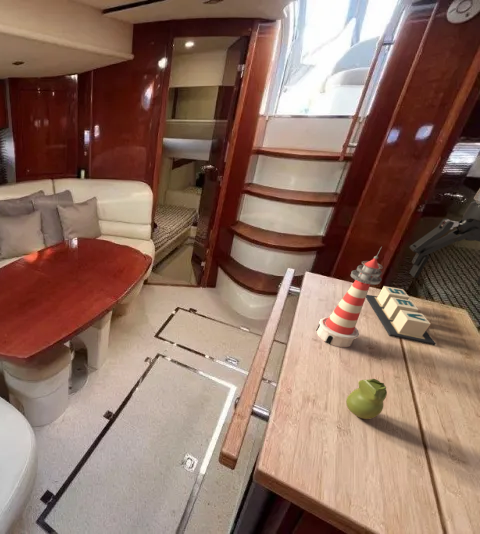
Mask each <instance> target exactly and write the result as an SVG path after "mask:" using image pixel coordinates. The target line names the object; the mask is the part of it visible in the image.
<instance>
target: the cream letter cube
mask: <svg viewBox="0 0 480 534" xmlns="http://www.w3.org/2000/svg"><path fill="white" fill-rule="evenodd" d="M392 323H393V324H394V326H395V327H396V329H397V330H398V332H399V333H403V334H408V335H413V336H418V337H422V335H423V334H424V333H425V331H427V330H428V328H429V327H430V326H431V322H430V321H429V320H428V318H426V316H425V315H424V314H423V313H421V312H417V313H416V312H410V311H405V310H400V311H399V313H398V314H397V316H396V318H395V319H394V321H393V322H392Z"/></svg>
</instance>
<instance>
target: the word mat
mask: <svg viewBox="0 0 480 534" xmlns="http://www.w3.org/2000/svg"><path fill="white" fill-rule="evenodd" d="M377 297H378V295H371V294H367V295H366V298H365V299H366V300H367V302H368V304H369V305H370V307H371V308H372V310H373V311H374V313H375V315H376V316H377V318H378V320H379V321H380V323H381V325H382V327H383V328H384V329H385V331H386V333H387V335H388V336H389V337H390V338H391V337H392V338H396V339H401V340H406V341H410V342H415V343H420V344H426V345H429V346H436V344H437V343H436V342H435V340H434V339H433V338H432V337H431V335H430V334H429V333H428V331H427V330H426V331H425V333H424V334H423V335H422V337H418V336H413V335H408V334H403V333H399V332H398V330H397V329H396V327H395V326H394V324H393V323H392V322H393V321H394V319H390V318H389V317H388V315H387V314H386V312H385V311H384V308H385V307H384V306H382V305H381V304H380V302H379V300H378V299H377Z"/></svg>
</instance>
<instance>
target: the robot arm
mask: <svg viewBox="0 0 480 534" xmlns="http://www.w3.org/2000/svg"><path fill="white" fill-rule="evenodd" d="M454 228H456V229H454ZM450 230H452V231H450ZM449 231H450V232H449ZM446 233H448V234H446ZM463 240H465V241H469V242H472V241H473V242H475V241H476V242H480V188H479V189H478V190H477V191H476V193H475V195H474V196H473V201H471V202H470V203H469V204H468V206H467V208H466V210H465V211H464V213H463V216H462V218H461V219H460V220H459V221H455V220H451V219H449V218H443V219H442V220H441V221H440V222H439V224H438V225H437V226H436V227H435V228H433V229H432V230H430V231H429V232H427V233H426V234H424V235H423V236H422V237H420V238H419V239H417V240H416V241H415V242H414V243H412V244H411V245H409V249H410V250H411V251H412V252H414V253H415V254H414V256H413V258H412V260H411V264H412V267H411V269H410V271H409V274H410V276H411V277H413V278H416V279H417V278H419V276H420V274H421V273H422V271H423V269H425V268H424V267H425V266H426V264H427V262H428V261H429V259H430V256H429V255H430V254H432V253H434V252H436V251H439V250H440V249H443V248H446V247H447V246H449V245H450V246H451V245H452V244H454V243H456V242H461V241H463ZM476 283H477V284H478V285H480V276H479V277H478V278H477V280H476Z"/></svg>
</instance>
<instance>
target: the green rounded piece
mask: <svg viewBox="0 0 480 534" xmlns="http://www.w3.org/2000/svg"><path fill="white" fill-rule="evenodd" d="M357 383H358V388H356V389H354V390H353V391H351V392H350V393H349V394H348V395H347V397H346V400H345V404H346V407H347V409H348V410H349V412H351V413H352V414H353V415H354V416H356V417H358V418H360V419H365V420H369V419H374V418H376V417H378V416H379V415H380V414H381V413H382V411H383V409H384V401H385V399H386V398H387V393H388V391H387V386H386V385H385V383H384V382H381V381H380V380H378V379H377V378H370V379H361V380H358V382H357Z"/></svg>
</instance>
